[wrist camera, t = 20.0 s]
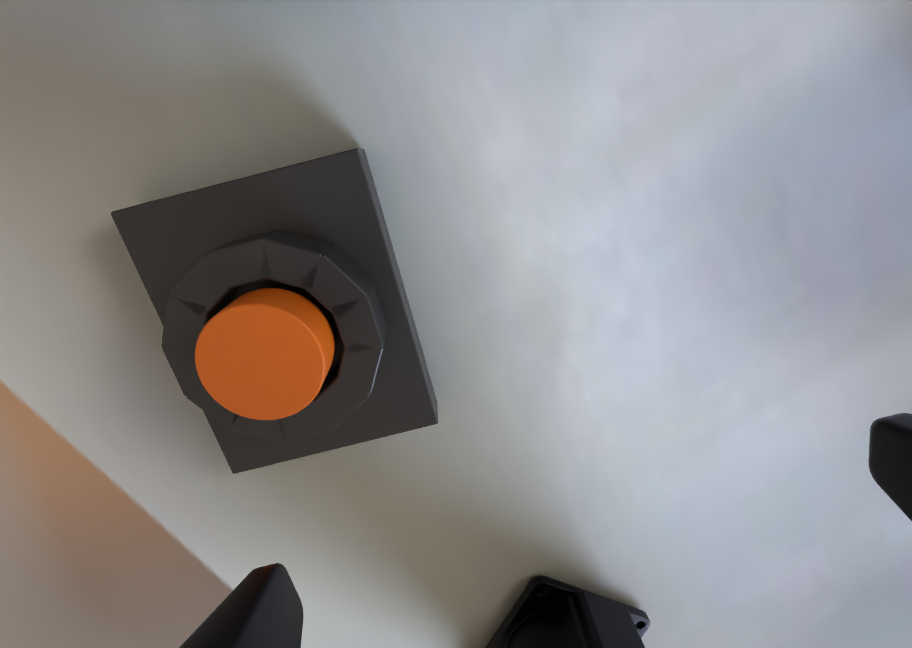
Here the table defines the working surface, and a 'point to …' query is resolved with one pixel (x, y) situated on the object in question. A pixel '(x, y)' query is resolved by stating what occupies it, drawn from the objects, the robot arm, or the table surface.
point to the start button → (265, 354)
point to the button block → (298, 270)
